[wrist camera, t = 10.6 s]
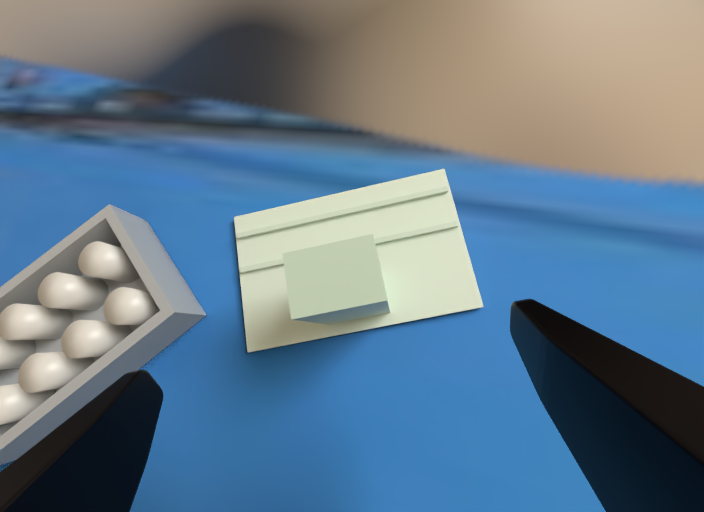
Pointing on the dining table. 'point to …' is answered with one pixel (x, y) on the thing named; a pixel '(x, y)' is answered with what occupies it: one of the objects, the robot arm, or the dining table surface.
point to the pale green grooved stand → (353, 262)
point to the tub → (84, 323)
